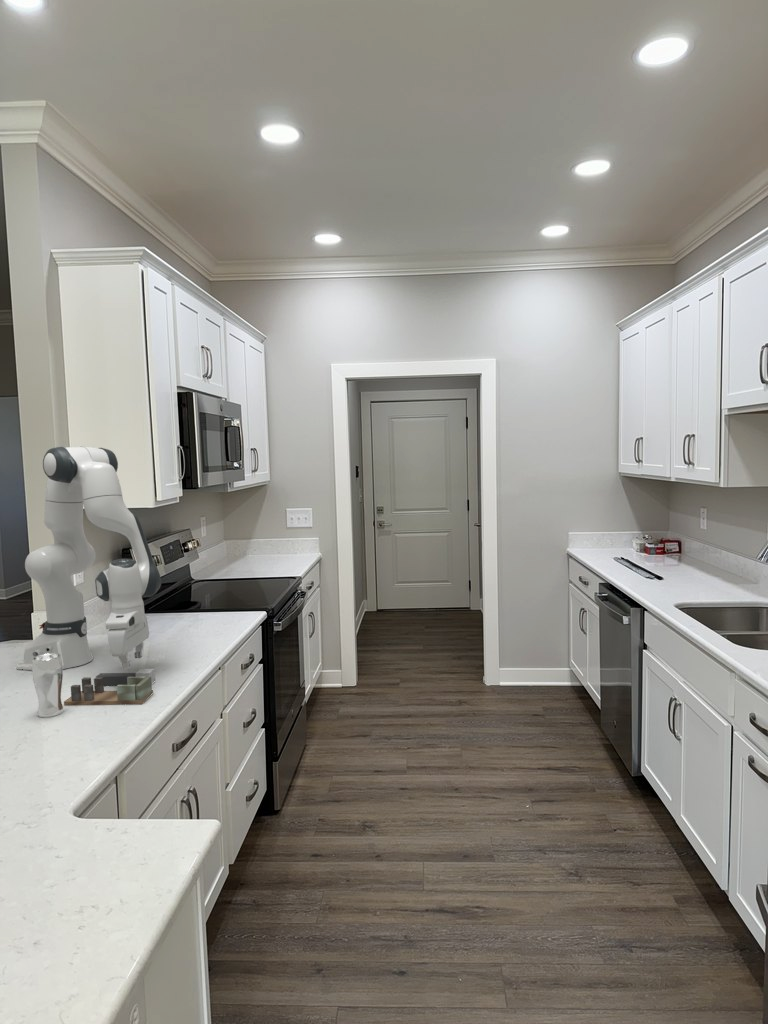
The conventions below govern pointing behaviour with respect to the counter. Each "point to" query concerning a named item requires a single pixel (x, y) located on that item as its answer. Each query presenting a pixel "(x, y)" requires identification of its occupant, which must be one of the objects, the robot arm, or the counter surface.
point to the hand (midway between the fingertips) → (132, 662)
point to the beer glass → (48, 683)
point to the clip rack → (110, 692)
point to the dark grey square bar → (125, 677)
